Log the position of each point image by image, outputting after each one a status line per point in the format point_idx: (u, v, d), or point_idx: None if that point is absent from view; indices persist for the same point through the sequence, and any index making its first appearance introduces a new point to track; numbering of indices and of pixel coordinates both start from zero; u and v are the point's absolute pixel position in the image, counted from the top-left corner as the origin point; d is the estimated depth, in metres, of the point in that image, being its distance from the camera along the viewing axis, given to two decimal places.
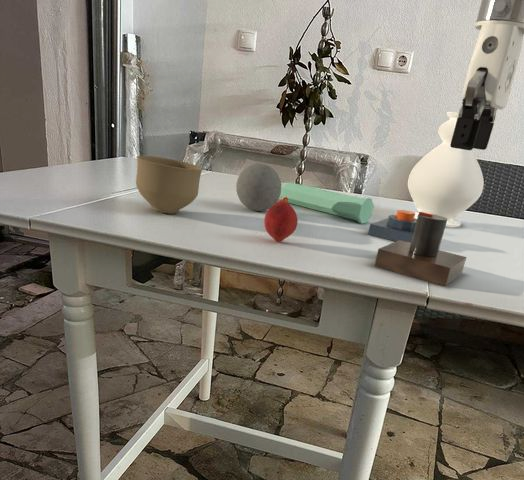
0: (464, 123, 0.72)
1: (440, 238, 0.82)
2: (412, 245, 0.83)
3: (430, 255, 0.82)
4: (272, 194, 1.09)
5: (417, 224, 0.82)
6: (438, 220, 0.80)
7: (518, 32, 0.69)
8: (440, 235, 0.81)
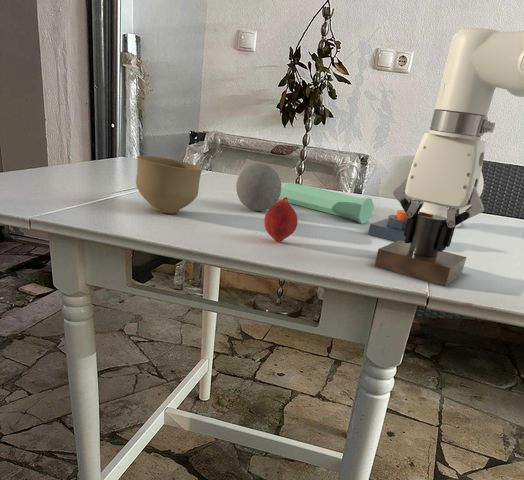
0: (452, 231, 0.80)
1: None
2: (412, 245, 0.83)
3: (430, 255, 0.82)
4: (272, 194, 1.09)
5: (417, 224, 0.82)
6: (438, 220, 0.80)
7: None
8: None
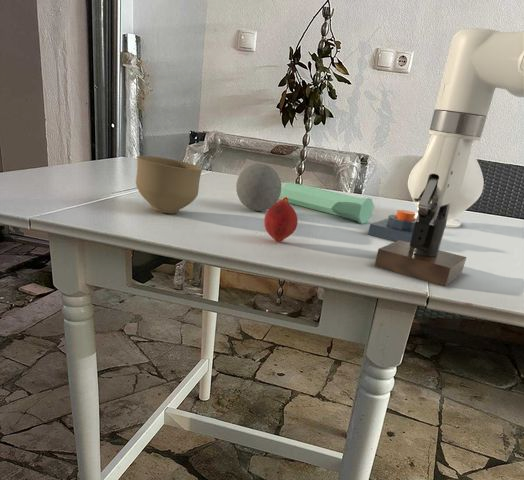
0: None
1: None
2: (431, 250, 0.82)
3: None
4: (272, 194, 1.09)
5: (436, 229, 0.80)
6: (445, 218, 0.82)
7: None
8: None
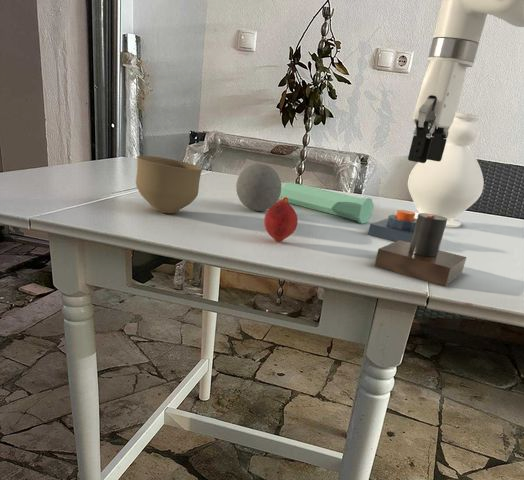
0: None
1: None
2: (432, 250, 0.82)
3: None
4: (272, 194, 1.09)
5: (437, 229, 0.80)
6: (445, 218, 0.82)
7: None
8: None
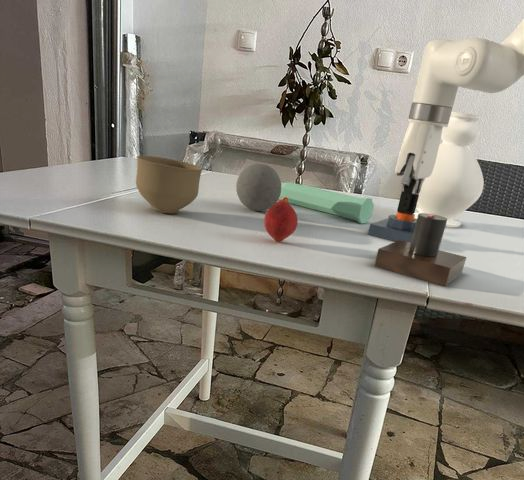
0: None
1: None
2: (432, 250, 0.82)
3: None
4: (272, 194, 1.09)
5: (437, 229, 0.80)
6: (445, 218, 0.82)
7: None
8: None
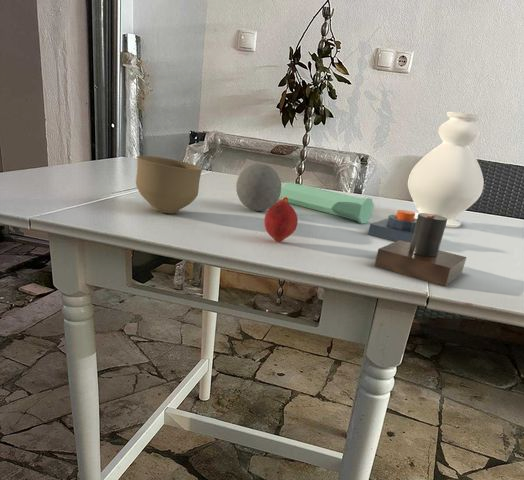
0: None
1: None
2: (432, 250, 0.82)
3: None
4: (272, 194, 1.09)
5: (437, 229, 0.80)
6: (445, 218, 0.82)
7: None
8: None
